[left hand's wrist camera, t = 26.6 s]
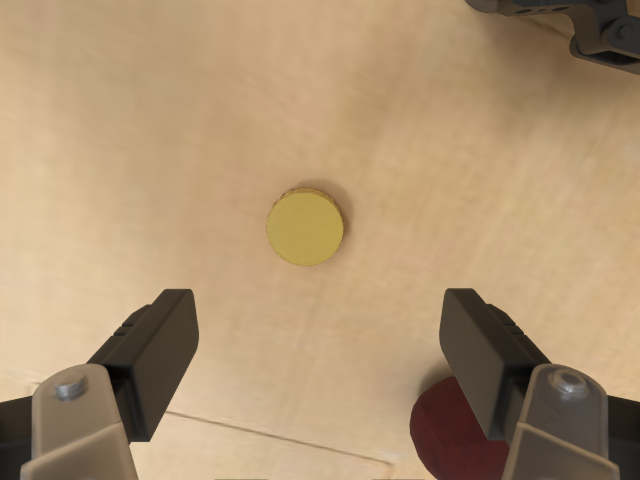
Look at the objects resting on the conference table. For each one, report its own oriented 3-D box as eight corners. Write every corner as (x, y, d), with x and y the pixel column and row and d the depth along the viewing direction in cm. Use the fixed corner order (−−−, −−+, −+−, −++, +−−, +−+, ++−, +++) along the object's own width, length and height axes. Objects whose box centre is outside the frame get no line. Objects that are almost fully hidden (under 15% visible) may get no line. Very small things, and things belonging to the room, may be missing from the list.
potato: (494, 423, 30) (544, 509, 24) (405, 435, 31) (428, 522, 24) (494, 352, 28) (548, 425, 21) (396, 366, 28) (420, 442, 22)
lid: (328, 266, 26) (329, 276, 24) (259, 244, 25) (255, 252, 24) (353, 201, 24) (356, 207, 23) (281, 176, 24) (278, 180, 22)
